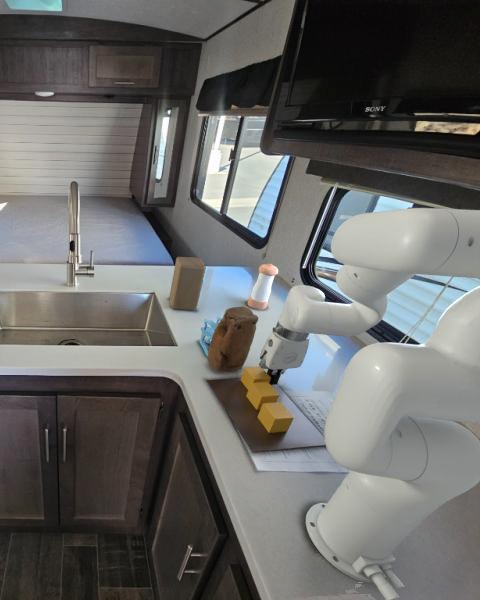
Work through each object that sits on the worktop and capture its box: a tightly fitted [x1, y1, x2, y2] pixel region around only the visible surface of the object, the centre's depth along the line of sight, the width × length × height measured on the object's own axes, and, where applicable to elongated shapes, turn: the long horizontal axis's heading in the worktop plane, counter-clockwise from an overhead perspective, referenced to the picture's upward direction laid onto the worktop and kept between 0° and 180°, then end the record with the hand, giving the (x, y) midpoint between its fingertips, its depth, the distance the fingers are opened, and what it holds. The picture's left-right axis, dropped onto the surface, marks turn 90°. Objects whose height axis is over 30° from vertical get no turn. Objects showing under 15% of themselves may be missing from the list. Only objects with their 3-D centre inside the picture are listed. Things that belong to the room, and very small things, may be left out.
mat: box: [206, 377, 326, 453], centre depth 87 cm, size 24×20×1 cm
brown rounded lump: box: [207, 306, 259, 373], centre depth 97 cm, size 11×8×20 cm
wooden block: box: [168, 256, 207, 311], centre depth 131 cm, size 10×10×20 cm
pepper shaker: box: [246, 263, 279, 311], centre depth 132 cm, size 7×7×19 cm
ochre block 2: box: [246, 382, 279, 410], centre depth 87 cm, size 5×5×5 cm
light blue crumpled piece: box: [199, 316, 223, 357], centre depth 107 cm, size 8×8×12 cm
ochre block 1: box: [240, 365, 271, 390], centre depth 93 cm, size 5×5×5 cm
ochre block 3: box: [258, 402, 294, 433], centre depth 81 cm, size 5×5×5 cm
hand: (270, 381), depth 94 cm, fingers closed
